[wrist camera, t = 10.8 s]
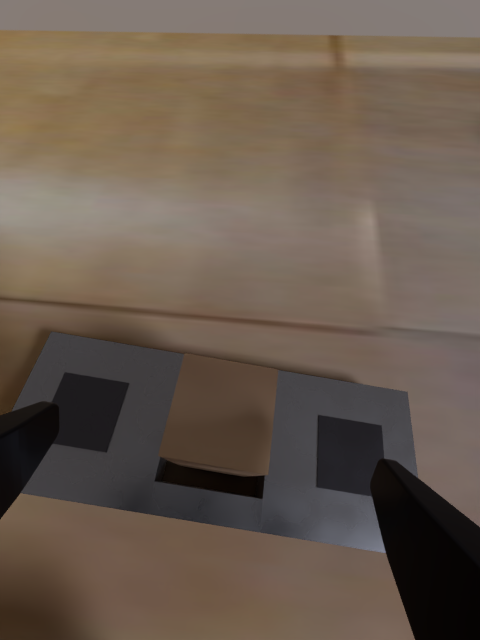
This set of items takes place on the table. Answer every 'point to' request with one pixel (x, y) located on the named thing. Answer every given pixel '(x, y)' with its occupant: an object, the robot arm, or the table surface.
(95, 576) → the table surface
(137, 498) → the grey slotted board
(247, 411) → the walnut peg
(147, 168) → the table surface
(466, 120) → the table surface
